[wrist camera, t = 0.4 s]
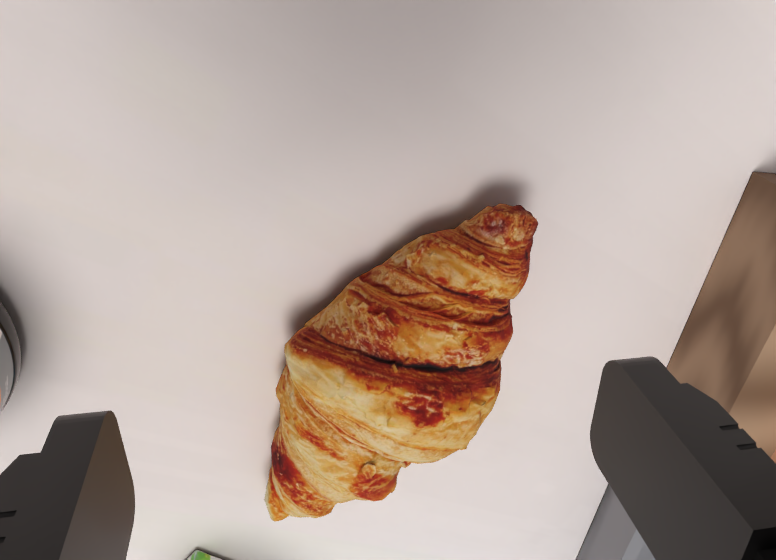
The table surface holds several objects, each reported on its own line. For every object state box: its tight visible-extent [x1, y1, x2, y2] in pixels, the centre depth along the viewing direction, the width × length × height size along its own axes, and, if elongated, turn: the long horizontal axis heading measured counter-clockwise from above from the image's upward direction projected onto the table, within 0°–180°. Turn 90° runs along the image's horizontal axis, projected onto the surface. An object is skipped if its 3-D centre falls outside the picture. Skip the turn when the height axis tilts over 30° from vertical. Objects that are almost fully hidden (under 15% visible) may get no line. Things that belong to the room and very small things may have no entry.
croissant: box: [264, 204, 538, 521], centre depth 31 cm, size 21×10×8 cm
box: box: [576, 485, 655, 560], centre depth 42 cm, size 14×15×4 cm
